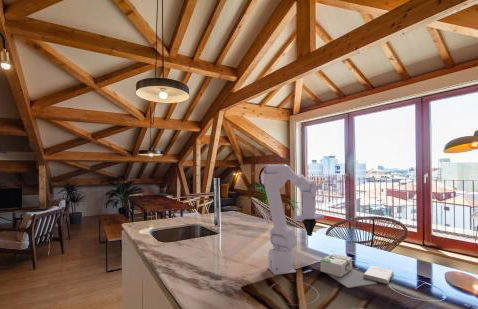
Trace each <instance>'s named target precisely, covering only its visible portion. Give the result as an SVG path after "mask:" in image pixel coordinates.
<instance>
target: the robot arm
mask: <svg viewBox="0 0 478 309" xmlns="http://www.w3.org/2000/svg"><path fill="white" fill-rule="evenodd" d="M262 176H263V181H264V189H265V190H264V191H265V193H266V198H267V199H266V200H267V201H268V207H269V210H270V215H271V220H272V223H273V224H272V225H273V226H272V227H271V229H270V230H269V233H270V235H269V236H270V237H269V239H270V243H271V245H272V248H271V249H269V250H268V253H267V254H268V259H267V260H268V266H267V269H268V270H270V271H271V272H272V273H273V275H277V276H278V275H285V274H292V273H297V270H296V269H295V268H293V250H294V249H295V247H296V246H297V237H296V235H295V233H294V230H293V229H292V228H291V227H290V226H289V225H288V222H287V220H286V214H285V211H284V210H285V209H284V205H283V201H282V195H281V192H280V189H281V188H283V187H284V185H285V184H286V183H287V181H288V180H289V181H291V182H292V184H293V185H294V186H295V187H296V188H298V189H299V191H300V193H302V214H299V215H294V217H293V220H294V221H295V222H299V221H301V222H302V224H303V226H304V228H305V232H306V235H307V236H308V237H312V236H313V232H314V228H315V226H316V224H317V222H318V221H317V220H325V215H324V214H316V196H317V192H318V184H317V182H315V180H310V179H309V178H308V177H305V174H301V173H298V174H297V173H296V172H294V171H293V169H292V168H291V166H289V165H288V164H269V163H268V164H266V165H265V166H264V168H263V171H262Z"/></svg>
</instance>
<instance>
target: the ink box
mask: <svg viewBox="0 0 478 309" xmlns="http://www.w3.org/2000/svg"><path fill="white" fill-rule="evenodd" d="M319 261H320V262H319V265H320V266H319V268H320V269H319V271H320V272H321V273H325V274H326V273H328V274H331V275H334V276H338V277H342V276H343V275H344V274H346V273H347V272H349V271H350V270H352V269H353V258H352V257H350V256H346V255H341V254H337V253H332V254H330V255H327V256H325V257H324V258H322V259H320V260H319ZM328 274H327V275H328Z"/></svg>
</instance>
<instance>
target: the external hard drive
mask: <svg viewBox="0 0 478 309" xmlns="http://www.w3.org/2000/svg"><path fill="white" fill-rule="evenodd" d="M362 275H363V277H364V278H366V279H369V280H373V281H374V282H376V283H382V284H388V283H389V282H390V280H391V278H392V277H393V275H394V270H393V269H391V268H390V269H389V268H386V267H382V266H381V267H380V266H376V265H370V266H369V267H368V269H366V271H365V272H364V273H362Z"/></svg>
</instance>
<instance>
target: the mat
mask: <svg viewBox="0 0 478 309" xmlns="http://www.w3.org/2000/svg"><path fill="white" fill-rule="evenodd" d="M325 274H326V275H328V276H329V277H331V278H332V279H334V280H335V281H337V282H338V283H339V284H341V285H343V287H346V288H347V289H351V288H358V287H365V286H371V285H377V284H378V282H377V281H373V280H369V279H366V278H364V277H363V273H360V272H358V271H357V270H355V269H353V268H352V270H350V271H349V272H347V273H346V274H344V275H343V276H342V277H338V276H334V275H331V274H328V273H325Z"/></svg>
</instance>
